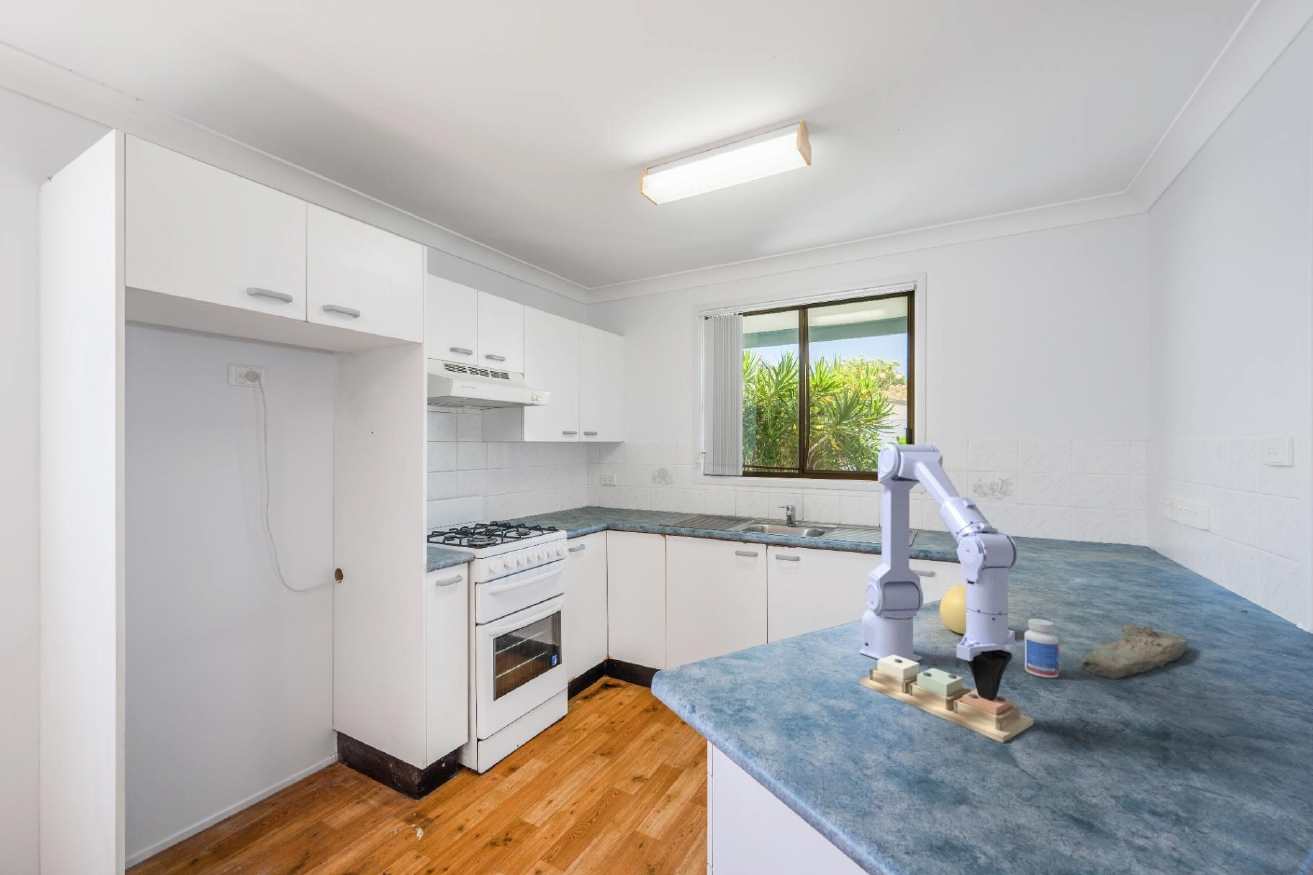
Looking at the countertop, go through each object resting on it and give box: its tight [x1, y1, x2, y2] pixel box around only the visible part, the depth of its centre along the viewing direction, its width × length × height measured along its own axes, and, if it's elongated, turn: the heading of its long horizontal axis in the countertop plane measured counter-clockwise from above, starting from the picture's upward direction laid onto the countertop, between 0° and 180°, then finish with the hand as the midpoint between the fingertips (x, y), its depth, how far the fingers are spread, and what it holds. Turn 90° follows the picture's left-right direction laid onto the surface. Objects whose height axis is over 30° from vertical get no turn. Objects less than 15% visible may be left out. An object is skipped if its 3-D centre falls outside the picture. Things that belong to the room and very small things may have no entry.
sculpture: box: [939, 584, 966, 635], centre depth 130 cm, size 12×12×11 cm
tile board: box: [858, 666, 1034, 744], centre depth 93 cm, size 24×10×3 cm, turn 34°
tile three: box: [962, 689, 1013, 716], centre depth 86 cm, size 5×5×3 cm
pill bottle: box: [1023, 618, 1060, 679], centre depth 106 cm, size 6×5×10 cm
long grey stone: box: [1080, 623, 1189, 680], centre depth 113 cm, size 35×5×10 cm
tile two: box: [917, 667, 963, 697], centre depth 93 cm, size 5×5×3 cm
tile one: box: [876, 655, 920, 681], centre depth 99 cm, size 5×5×3 cm
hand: (987, 696), depth 86 cm, fingers closed, pressing on tile three
